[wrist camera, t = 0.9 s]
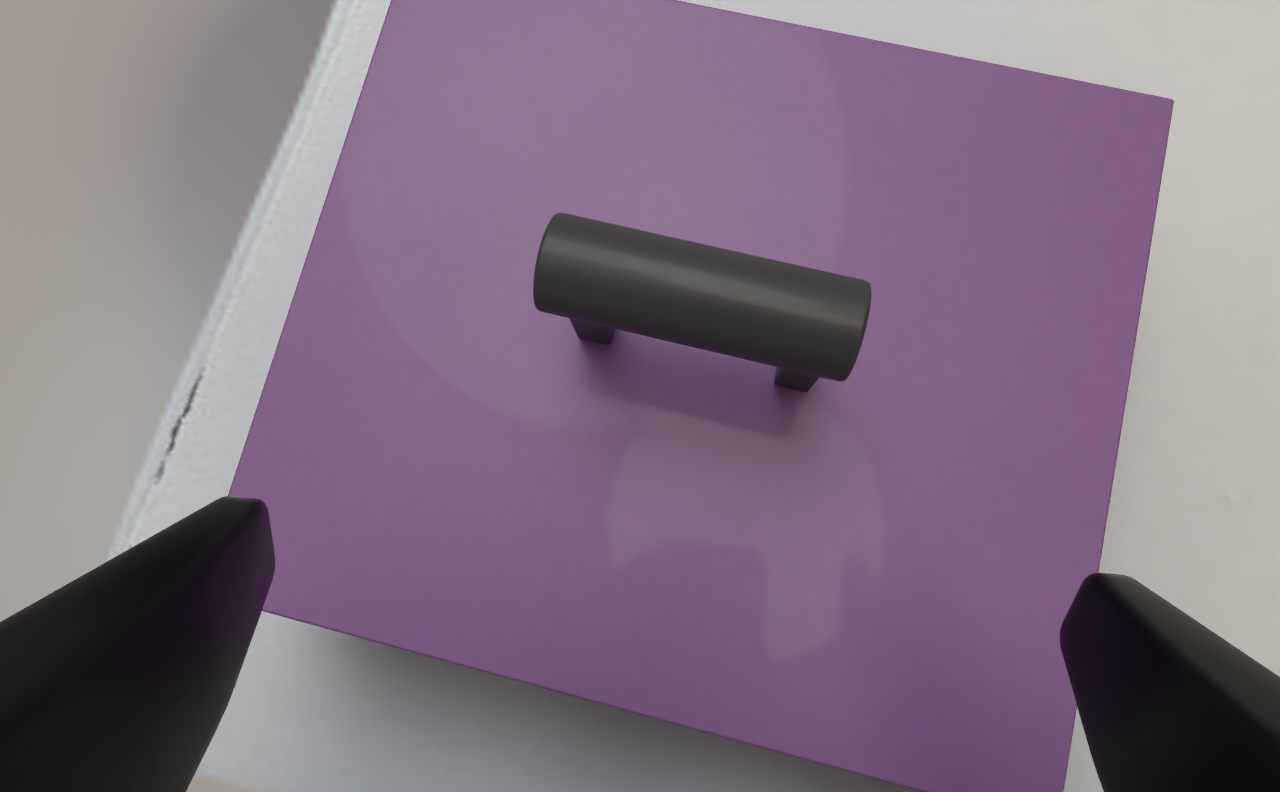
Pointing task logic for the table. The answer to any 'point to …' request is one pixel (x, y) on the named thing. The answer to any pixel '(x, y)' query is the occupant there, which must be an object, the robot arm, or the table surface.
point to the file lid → (718, 376)
